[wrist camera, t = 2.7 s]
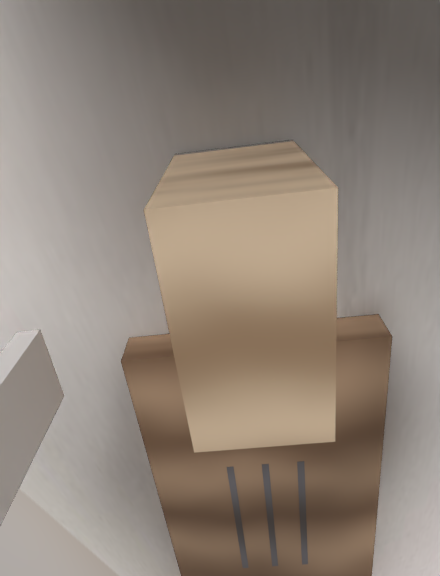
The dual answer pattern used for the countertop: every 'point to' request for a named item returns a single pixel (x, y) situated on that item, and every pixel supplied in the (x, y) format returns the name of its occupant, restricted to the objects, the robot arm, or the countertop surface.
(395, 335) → the countertop surface
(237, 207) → the block
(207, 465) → the walnut board
